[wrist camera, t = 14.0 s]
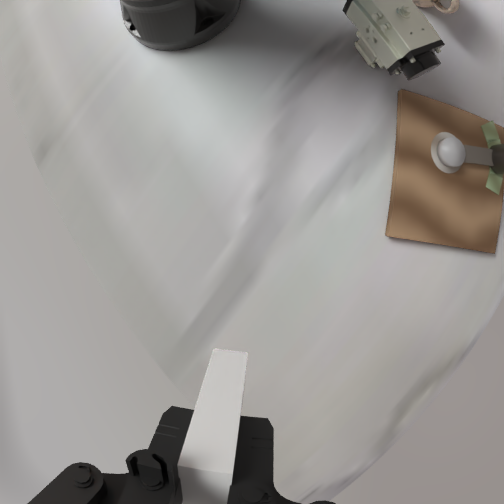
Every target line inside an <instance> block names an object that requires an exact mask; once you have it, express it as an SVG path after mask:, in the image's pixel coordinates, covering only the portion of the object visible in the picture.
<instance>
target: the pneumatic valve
mask: <svg viewBox="0 0 504 504" xmlns="http://www.w3.org/2000/svg"><path fill="white" fill-rule="evenodd" d="M343 12H344V13H345V14H346V15H347V17H348V18H349V19H350V20H351V22H352V23H353V24H354V25H355V27H356V28H357V29H358V31H357V32H356V35H357V36H358V38H359V40H358V41H356V42H354V43H355V45H354V46H355V47H356V49H357V50H358V51H359V53H360V54H361V55H362V57H363V58H364V60H365V61H366V63H367V64H368V65H369V66H371V67H373V68H374V67H375V66H376V65H375V63H376V62H377V64H378V65H379V67H380V68H384V67H385V68H386V69H387V71H388V72H389V74H390V75H393V74H395V73H396V74H397V75H398V74H400V73H401V72H400V71H402V72H403V73H404V75H405V76H406V78H407V80H411V79H414V78H416V77H419V76H421V75H423V74H425V73H427V72H429V71H431V70H432V69H434V68H436V67H438V66H439V65H440V64H441V62H440V61H439V59H438V58H437V56H436V55H435V53H434V52H435V51H436V52H437V53H439V52H441V50H440V48H441V47H442V46H444V45H445V44H444V43H443V41H442V40H441V38H440V37H439V35H438V34H437V32H436V31H435V30H434V28H433V27H432V26H431V24H430V23H429V21H428V20H427V19H426V18H425V16H424V15H423V14H422V12H421V11H420V10H419V9H418V7H417V6H416V5H415V4H414V2H413V1H412V0H347V2H346V4H345V6H344V8H343Z"/></svg>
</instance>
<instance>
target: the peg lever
mask: <svg viewBox="0 0 504 504" xmlns="http://www.w3.org/2000/svg"><path fill="white" fill-rule="evenodd" d="M437 156H438V159H439V160H440V162H441V163H442V164H443V165H445V166H447V167H457V166H460V165H462V164H463V163H470V164H478V165H486V166H490V167H491V169H492V170H493V171H494V172H495V173H497V174H504V144H497V145H493V146H491V147H490V149H488V148H482V147H476V146H470V145H463V144H462V142H461V141H460V140H459V139H457V138H455V137H449V138H444V139H442V140H440V141H439V143H438V145H437Z"/></svg>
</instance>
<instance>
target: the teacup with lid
mask: <svg viewBox="0 0 504 504" xmlns="http://www.w3.org/2000/svg"><path fill="white" fill-rule="evenodd" d="M412 1H413V2H414V4H415V5H416V6H420V7H433V6H435V7H436V8H437V9H438V10H439V11H440V12H443V13H447V14H450V13H454V12H456V11H457V10H458V8H459V0H451V6H450V7H449V8H448V9H446V8H445V7H443V6H442V5H441V3H440V2H439V1H440V0H412Z"/></svg>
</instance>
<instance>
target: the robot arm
mask: <svg viewBox="0 0 504 504" xmlns="http://www.w3.org/2000/svg"><path fill="white" fill-rule="evenodd" d="M120 4H121V10H122V16H123V21H124V24H125V26H126V28H127V29H128V31H129V32H130V33H131V34H132V35H133V36H134V37H135V39H136V40H138V41H139V42H140V43H141V44H143V45H145V46H147V47H150V48H153V49H158V50H180V49H185V48H189V47H193V46H196V45H199V44H201V43H203V42H205V41H207V40H209V39H211V38H213V37H214V36H216V35H217V34H219V33H220V32H221V31H222V30H224V29H225V28H226V27H227V26H228V25H229V24H230V22H231V21H232V20H233V18H234V17H235V15H236V13H237V11H238V8H239V5H240V0H120ZM247 358H248V352H240V351H232V350H224V349H216V348H214V349H213V352H212V355H211V358H210V361H209V365H208V368H207V371H206V374H205V377H204V381H203V384H202V387H201V390H200V393H199V397H198V400H197V403H196V406H195V409H194V410H191V409H185V408H180V407H175V406H171V407H170V408H169V409H168V410H167V411H166V412H164V413H163V415H162V417H161V420H160V422H159V426H158V427H157V429H156V432H155V434H154V436H153V439H152V441H151V443H150V446H149V448H148V449H144V450H138V451H136V452H134V453H132V454H130V455H129V456H128V458H127V459H126V463H127V467H128V470H129V473H126V474H107V473H101V471H100V470H98V468H96V467H95V466H93V465H91V464H89V463H81V462H80V463H75V464H72V465H70V466H68V467H67V468H66V469H65V470H64V471H63V472H61V473H60V474H59V475H58V476H57V477H56V478H55V479H54V480H53V481H52V482H51V483H50V484H49V485H47V486H46V487H45V488H44V489H43V490H42V491H41V492H40V493H39V494H38V495H37V496H36V497H34V498H33V499H32V500H31V501H30V502H29V503H28V504H300V503H297V502H293V501H290V500H288V499H286V498H284V497H283V496H281V495H280V494H279V493H278V492H277V491H276V489H275V487H274V483H273V427H272V425H271V423H270V421H269V420H268V418H257V417H247V416H241V410H242V402H243V393H244V385H245V376H246V367H247ZM310 504H335V503H333V502H329V501H316V502H313V503H310Z"/></svg>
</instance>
